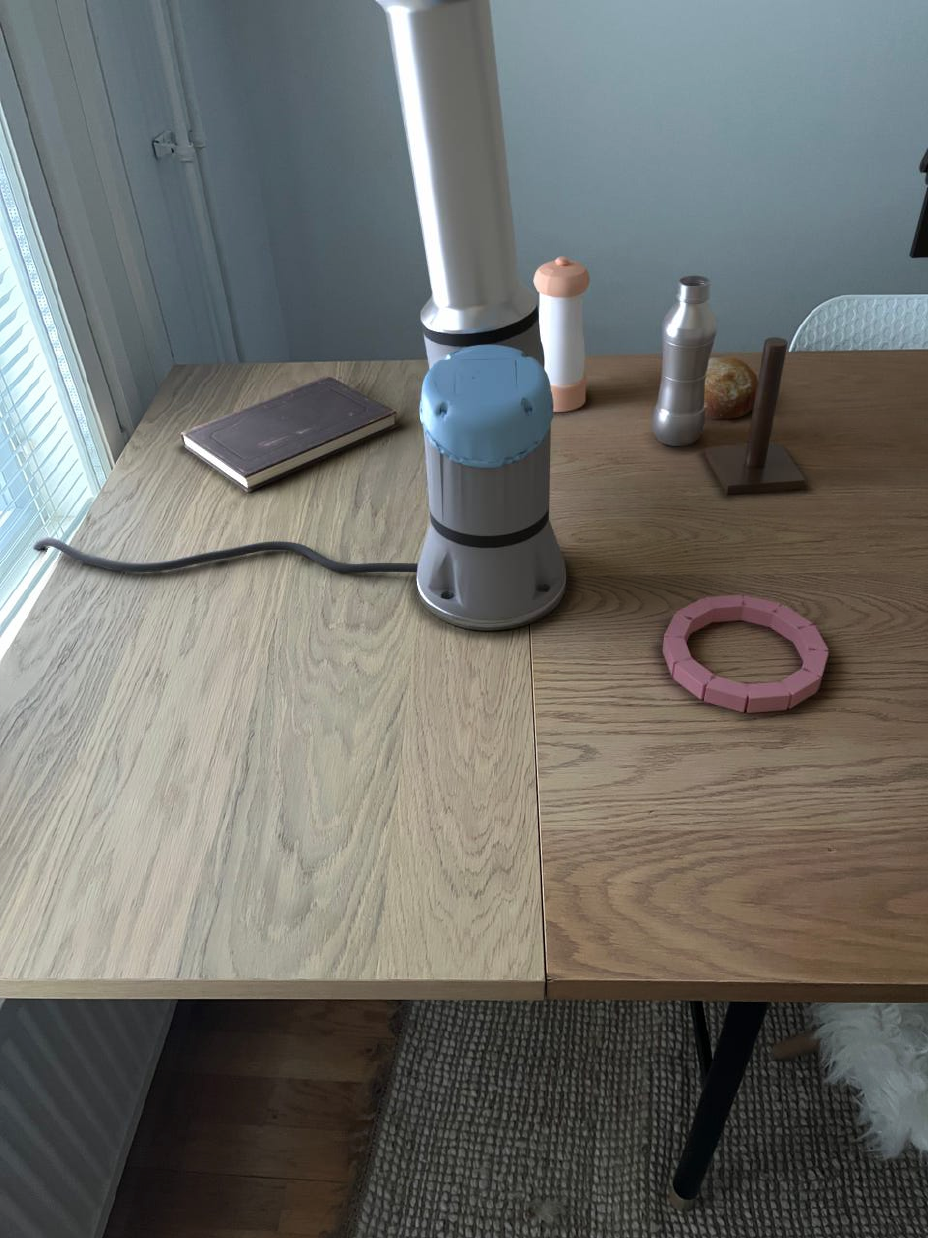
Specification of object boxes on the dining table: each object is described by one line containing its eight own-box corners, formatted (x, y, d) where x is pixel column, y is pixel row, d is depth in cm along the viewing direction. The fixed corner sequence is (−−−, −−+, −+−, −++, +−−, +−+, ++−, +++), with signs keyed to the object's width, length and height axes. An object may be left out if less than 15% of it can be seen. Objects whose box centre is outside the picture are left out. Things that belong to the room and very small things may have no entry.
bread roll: (674, 416, 131) (658, 373, 126) (733, 372, 131) (720, 327, 126) (718, 447, 124) (702, 403, 119) (780, 401, 124) (768, 354, 119)
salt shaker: (526, 409, 127) (526, 265, 115) (538, 385, 133) (540, 245, 120) (579, 414, 125) (585, 269, 113) (590, 390, 131) (596, 249, 119)
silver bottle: (642, 446, 118) (657, 287, 106) (660, 422, 123) (676, 267, 110) (693, 456, 116) (714, 295, 103) (709, 432, 120) (731, 274, 108)
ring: (686, 718, 82) (688, 703, 81) (649, 615, 93) (651, 601, 92) (847, 705, 82) (851, 690, 81) (791, 604, 93) (795, 589, 92)
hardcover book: (397, 426, 125) (396, 410, 124) (247, 492, 114) (244, 476, 112) (328, 388, 135) (326, 373, 133) (183, 446, 123) (179, 430, 122)
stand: (726, 494, 109) (747, 362, 99) (705, 455, 116) (723, 327, 106) (803, 489, 109) (832, 356, 99) (778, 450, 116) (802, 322, 106)
